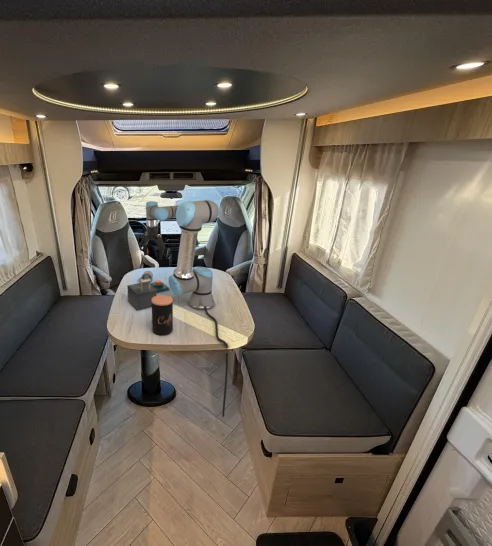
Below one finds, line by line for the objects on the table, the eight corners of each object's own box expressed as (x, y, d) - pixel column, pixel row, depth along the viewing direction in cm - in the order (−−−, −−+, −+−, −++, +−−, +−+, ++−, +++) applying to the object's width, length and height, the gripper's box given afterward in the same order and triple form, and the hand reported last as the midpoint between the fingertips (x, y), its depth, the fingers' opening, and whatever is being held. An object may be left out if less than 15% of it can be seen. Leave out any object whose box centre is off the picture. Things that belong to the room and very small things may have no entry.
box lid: (157, 291, 183) (157, 278, 180) (137, 296, 177) (137, 282, 174) (145, 282, 195) (145, 270, 192) (127, 286, 189) (126, 274, 186)
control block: (169, 290, 208) (169, 284, 207) (155, 293, 204) (155, 287, 202) (160, 284, 218) (160, 279, 217) (147, 287, 213) (147, 281, 212)
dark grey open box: (156, 305, 187) (156, 291, 183) (137, 310, 181) (136, 295, 178) (146, 296, 199) (145, 282, 195) (128, 301, 193) (127, 286, 189)
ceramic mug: (153, 279, 227) (153, 269, 224) (152, 283, 219) (151, 273, 216) (139, 279, 227) (138, 269, 225) (137, 283, 220) (136, 273, 217)
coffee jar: (157, 338, 154) (156, 305, 147) (149, 328, 163) (148, 297, 156) (176, 333, 158) (176, 301, 152) (167, 323, 167) (166, 293, 161)
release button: (161, 284, 209) (161, 281, 208) (157, 285, 207) (157, 282, 207) (159, 282, 212) (159, 280, 211) (154, 283, 210) (154, 281, 210)
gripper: (171, 227, 196) (171, 259, 204) (142, 222, 210) (143, 252, 218) (163, 229, 191) (163, 262, 198) (134, 224, 205) (135, 255, 212)
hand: (153, 257), depth 208 cm, fingers open, 13 cm apart
